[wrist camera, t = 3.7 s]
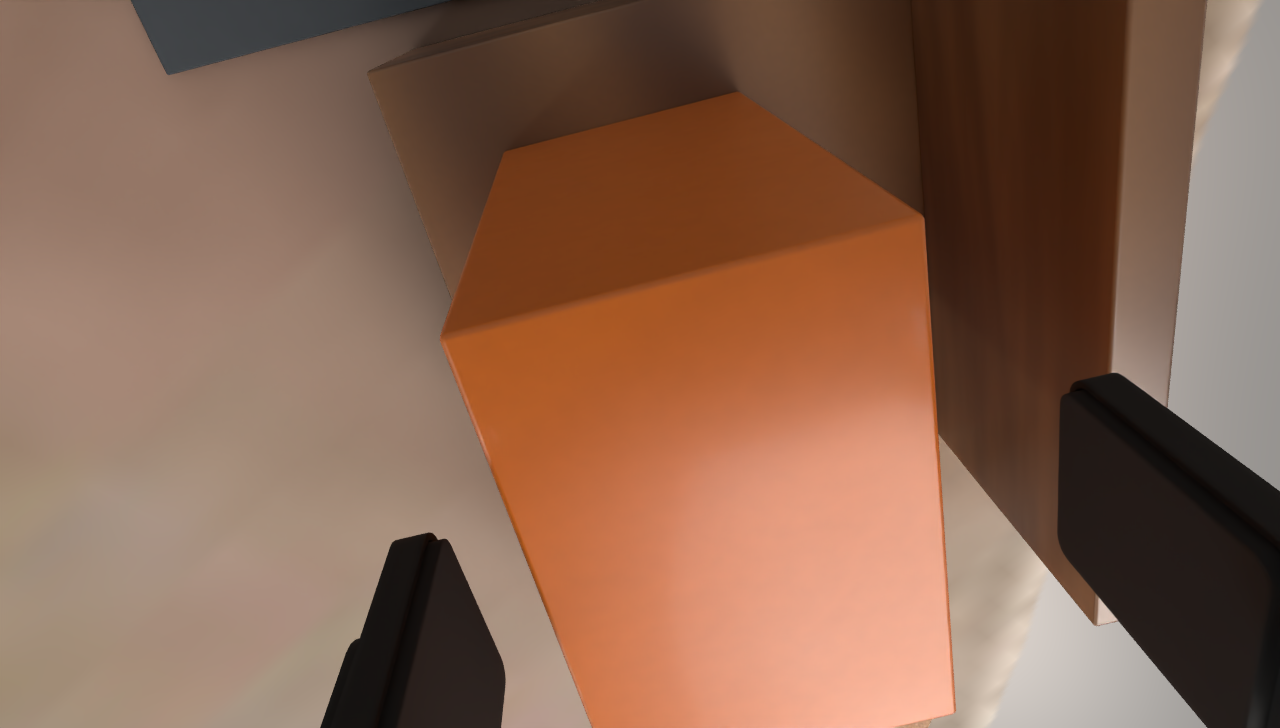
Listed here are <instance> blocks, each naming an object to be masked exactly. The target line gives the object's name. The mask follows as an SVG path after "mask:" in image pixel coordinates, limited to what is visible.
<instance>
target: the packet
mask: <svg viewBox="0 0 1280 728" xmlns="http://www.w3.org/2000/svg"><path fill="white" fill-rule="evenodd" d="M440 342H441V345H442V347H443V350H444V352H445V355H446V357H447V360H448V362H449V365H450V367H451V370H452V373H453V375H454V378H455V380H456V383H457V385H458V388H459V390H460V393H461V395H462V398H463V401H464V403H465V406H466V408H467V411H468V413H469V416H470V418H471V421H472V423H473V426H474V429H475V431H476V434H477V436H478V439H479V441H480V444H481V446H482V449H483V451H484V454H485V457H486V459H487V462H488V464H489V467H490V469H491V472H492V474H493V477H494V479H495V482H496V485H497V487H498V490H499V492H500V495H501V497H502V500H503V502H504V505H505V507H506V510H507V512H508V515H509V518H510V520H511V523H512V525H513V528H514V530H515V533H516V535H517V538H518V540H519V543H520V546H521V548H522V551H523V553H524V556H525V558H526V561H527V563H528V566H529V568H530V571H531V574H532V576H533V579H534V581H535V584H536V586H537V589H538V591H539V594H540V596H541V599H542V602H543V604H544V607H545V609H546V612H547V614H548V617H549V619H550V622H551V624H552V627H553V630H554V632H555V635H556V637H557V640H558V642H559V645H560V647H561V650H562V652H563V655H564V658H565V660H566V663H567V665H568V668H569V670H570V673H571V675H572V678H573V680H574V683H575V686H576V688H577V691H578V693H579V696H580V698H581V701H582V703H583V706H584V708H585V711H586V714H587V716H588V719H589V721H590V724H591V726H592V728H896V727H900V726H904V725H909V724H913V723H917V722H922V721H926V720H930V719H934V718H939V717H943V716H947V715H952V714H953V713H955V711H956V704H955V689H954V673H953V658H952V642H951V626H950V611H949V595H948V579H947V564H946V548H945V532H944V517H943V501H942V486H941V470H940V454H939V439H938V423H937V407H936V392H935V376H934V360H933V345H932V329H931V314H930V298H929V282H928V267H927V251H926V235H925V220H924V217H923V215H922V214H921V213H919V212H918V211H916V210H915V209H913V208H912V207H910V206H909V205H907V204H906V203H904V202H903V201H901V200H900V199H898V198H897V197H895V196H894V195H892V194H891V193H889V192H888V191H886V190H885V189H883V188H882V187H880V186H879V185H877V184H876V183H874V182H873V181H872V180H870V179H869V178H867V177H866V176H864V175H863V174H861V173H860V172H858V171H857V170H855V169H854V168H852V167H851V166H849V165H848V164H846V163H845V162H843V161H842V160H840V159H839V158H837V157H836V156H834V155H833V154H831V153H830V152H828V151H827V150H825V149H824V148H822V147H821V146H819V145H818V144H816V143H815V142H813V141H812V140H810V139H809V138H807V137H806V136H804V135H803V134H801V133H800V132H798V131H797V130H795V129H794V128H792V127H791V126H789V125H788V124H786V123H785V122H783V121H782V120H780V119H779V118H778V117H776V116H775V115H773V114H772V113H770V112H769V111H767V110H766V109H764V108H763V107H761V106H760V105H758V104H757V103H755V102H754V101H752V100H751V99H749V98H748V97H746V96H745V95H743V94H742V93H740V92H734V93H730V94H726V95H722V96H718V97H714V98H710V99H706V100H702V101H699V102H695V103H691V104H687V105H683V106H679V107H675V108H671V109H668V110H664V111H660V112H656V113H652V114H648V115H644V116H640V117H636V118H633V119H629V120H625V121H621V122H617V123H613V124H609V125H605V126H602V127H598V128H594V129H590V130H586V131H582V132H578V133H574V134H570V135H567V136H563V137H559V138H555V139H551V140H547V141H543V142H539V143H536V144H532V145H528V146H524V147H520V148H516V149H512V150H508V151H505V152H504V153H503V156H502V159H501V162H500V165H499V168H498V170H497V173H496V176H495V179H494V182H493V185H492V188H491V191H490V194H489V196H488V199H487V202H486V205H485V208H484V211H483V214H482V217H481V219H480V222H479V225H478V228H477V231H476V234H475V237H474V240H473V242H472V245H471V248H470V251H469V254H468V257H467V260H466V263H465V266H464V268H463V271H462V274H461V277H460V280H459V283H458V286H457V289H456V291H455V294H454V297H453V300H452V303H451V306H450V309H449V312H448V315H447V317H446V320H445V323H444V326H443V329H442V332H441V335H440Z"/></svg>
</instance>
